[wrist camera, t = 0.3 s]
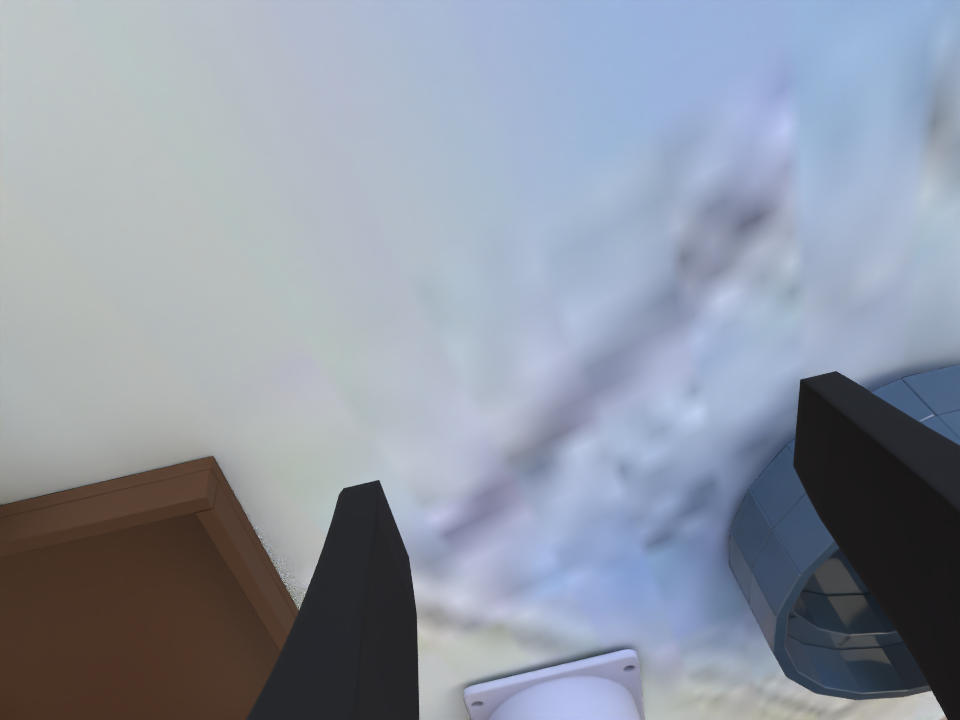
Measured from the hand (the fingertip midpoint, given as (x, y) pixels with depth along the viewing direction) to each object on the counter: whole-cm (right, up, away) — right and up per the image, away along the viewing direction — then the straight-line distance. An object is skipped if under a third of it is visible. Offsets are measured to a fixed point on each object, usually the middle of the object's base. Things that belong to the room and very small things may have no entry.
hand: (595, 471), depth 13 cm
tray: (-16, -9, +16) cm, 25 cm away
